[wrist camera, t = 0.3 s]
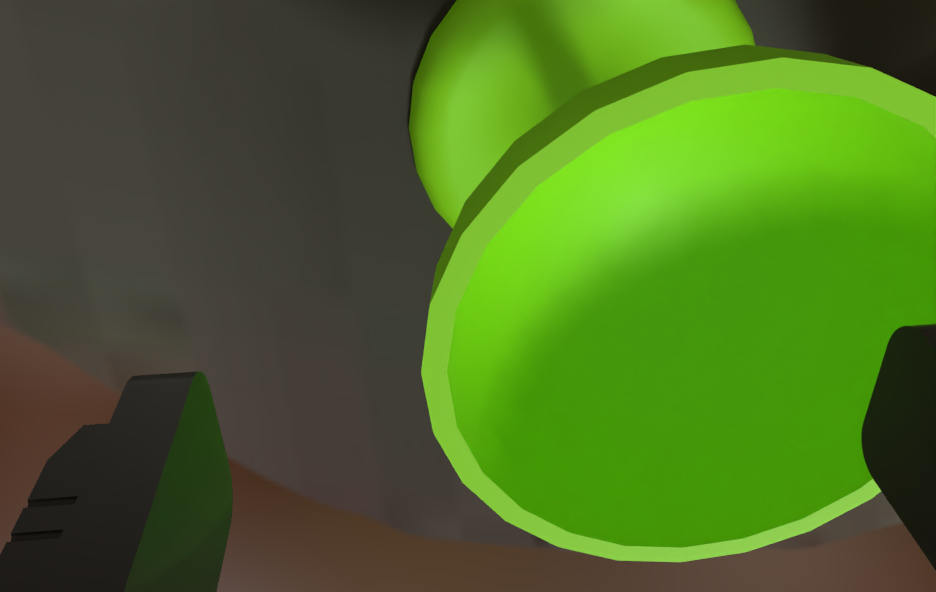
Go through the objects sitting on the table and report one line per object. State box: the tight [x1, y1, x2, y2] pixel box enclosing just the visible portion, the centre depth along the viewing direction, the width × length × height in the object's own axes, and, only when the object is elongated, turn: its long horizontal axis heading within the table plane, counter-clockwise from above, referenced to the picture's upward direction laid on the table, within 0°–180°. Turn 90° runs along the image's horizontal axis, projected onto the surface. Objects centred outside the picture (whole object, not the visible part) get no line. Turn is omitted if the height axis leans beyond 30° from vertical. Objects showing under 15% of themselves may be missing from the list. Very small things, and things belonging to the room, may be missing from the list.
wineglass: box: [409, 0, 936, 562], centre depth 30 cm, size 16×16×18 cm
